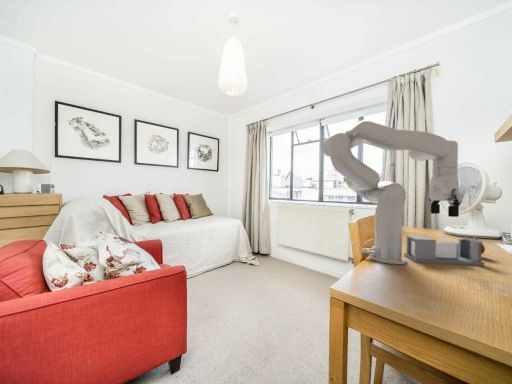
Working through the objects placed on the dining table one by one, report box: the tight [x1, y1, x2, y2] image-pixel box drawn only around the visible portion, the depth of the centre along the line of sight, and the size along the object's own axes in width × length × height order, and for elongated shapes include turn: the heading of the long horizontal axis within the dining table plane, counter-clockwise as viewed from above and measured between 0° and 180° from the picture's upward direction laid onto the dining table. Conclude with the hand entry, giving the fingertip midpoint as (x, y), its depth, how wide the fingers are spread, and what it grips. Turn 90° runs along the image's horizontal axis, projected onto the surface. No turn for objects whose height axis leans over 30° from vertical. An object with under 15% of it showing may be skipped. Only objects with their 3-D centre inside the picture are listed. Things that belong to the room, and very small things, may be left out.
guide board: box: [403, 235, 485, 266], centre depth 86 cm, size 24×8×9 cm, turn 83°
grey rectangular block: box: [410, 240, 459, 259], centre depth 86 cm, size 16×4×6 cm, turn 83°
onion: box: [472, 237, 486, 255], centre depth 92 cm, size 6×6×8 cm
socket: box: [458, 236, 483, 262], centre depth 85 cm, size 3×7×8 cm, turn 173°
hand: (443, 214), depth 86 cm, fingers open, 9 cm apart
